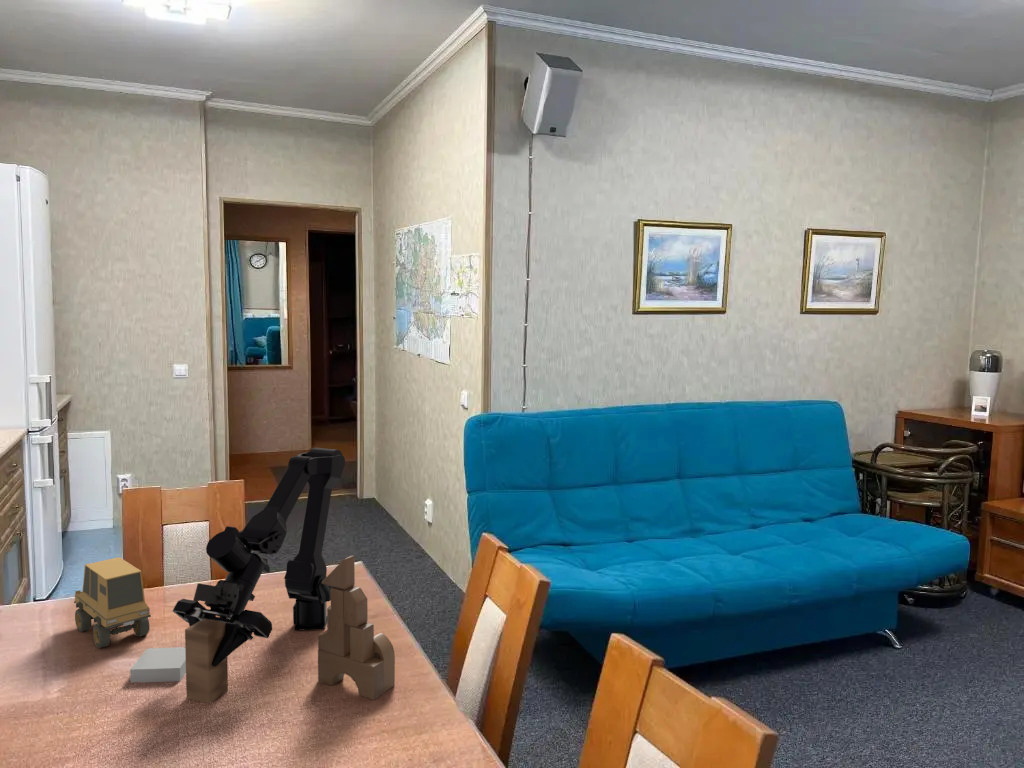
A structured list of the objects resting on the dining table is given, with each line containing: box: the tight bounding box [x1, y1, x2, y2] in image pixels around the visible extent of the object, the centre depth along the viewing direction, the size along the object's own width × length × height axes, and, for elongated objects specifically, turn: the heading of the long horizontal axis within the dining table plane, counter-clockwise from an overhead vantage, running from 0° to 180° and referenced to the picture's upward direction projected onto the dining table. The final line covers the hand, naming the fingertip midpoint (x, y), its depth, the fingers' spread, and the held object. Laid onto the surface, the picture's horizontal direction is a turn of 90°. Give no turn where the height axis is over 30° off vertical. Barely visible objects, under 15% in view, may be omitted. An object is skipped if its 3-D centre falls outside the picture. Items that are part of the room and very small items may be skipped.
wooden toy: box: [317, 555, 396, 701], centre depth 148 cm, size 15×7×25 cm, turn 60°
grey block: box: [129, 646, 186, 684], centre depth 152 cm, size 9×9×3 cm
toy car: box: [73, 556, 152, 649], centre depth 168 cm, size 10×19×15 cm, turn 46°
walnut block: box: [184, 619, 229, 704], centre depth 143 cm, size 5×5×13 cm
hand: (200, 663), depth 141 cm, fingers closed on walnut block, 5 cm apart
